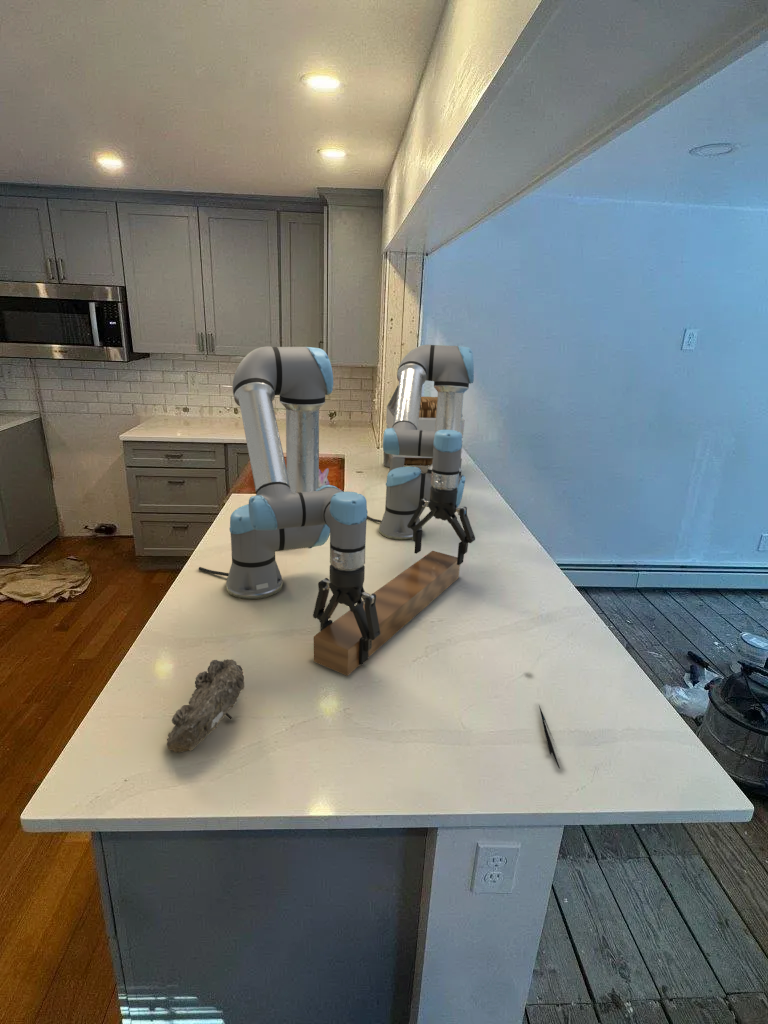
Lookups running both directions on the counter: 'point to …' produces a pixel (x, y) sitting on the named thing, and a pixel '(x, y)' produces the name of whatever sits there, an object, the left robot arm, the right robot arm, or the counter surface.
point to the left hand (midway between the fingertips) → (345, 654)
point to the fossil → (206, 705)
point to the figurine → (323, 478)
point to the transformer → (424, 423)
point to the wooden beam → (386, 611)
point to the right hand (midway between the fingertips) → (438, 557)
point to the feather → (548, 737)
